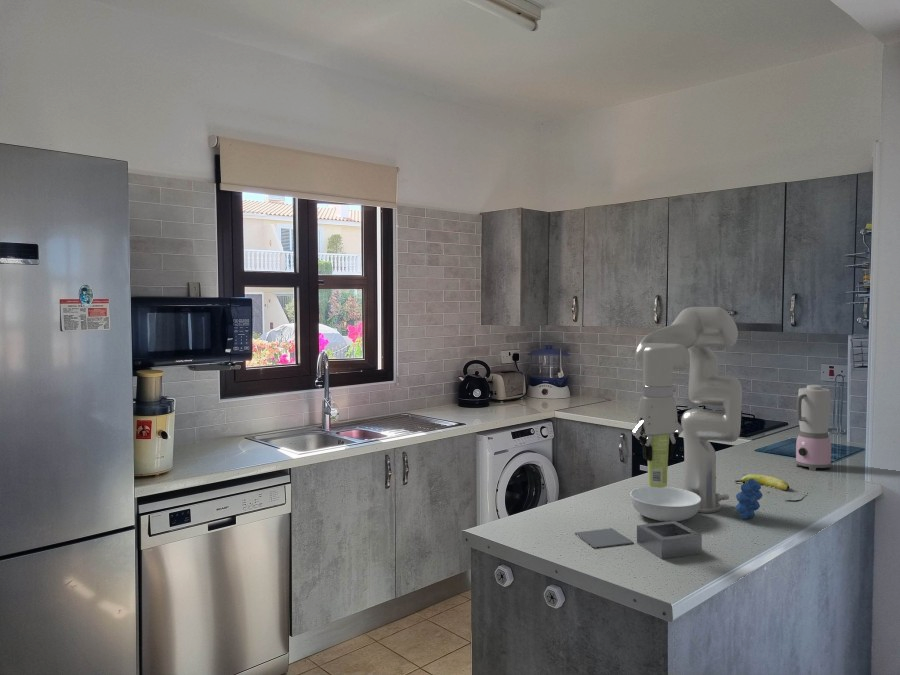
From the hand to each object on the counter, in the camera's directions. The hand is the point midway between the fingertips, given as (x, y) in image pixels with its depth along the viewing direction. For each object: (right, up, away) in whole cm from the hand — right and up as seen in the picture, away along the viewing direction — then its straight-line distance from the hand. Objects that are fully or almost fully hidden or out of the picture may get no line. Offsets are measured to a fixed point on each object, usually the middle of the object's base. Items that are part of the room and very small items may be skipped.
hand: (658, 457), depth 182 cm
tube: (0, -8, 0) cm, 8 cm away
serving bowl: (+10, -23, +26) cm, 36 cm away
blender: (+85, -19, +82) cm, 119 cm away
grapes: (+34, -23, +24) cm, 48 cm away
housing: (+3, -24, 0) cm, 24 cm away
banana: (+55, -21, +58) cm, 83 cm away
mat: (-13, -24, +8) cm, 29 cm away
